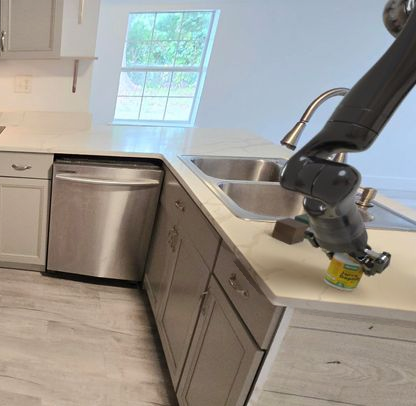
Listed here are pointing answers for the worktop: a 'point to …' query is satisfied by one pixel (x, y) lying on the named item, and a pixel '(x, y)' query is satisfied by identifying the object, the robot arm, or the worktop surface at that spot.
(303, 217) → the green block
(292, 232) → the walnut block
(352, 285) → the supplement bottle
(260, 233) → the worktop surface
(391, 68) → the robot arm
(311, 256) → the worktop surface
